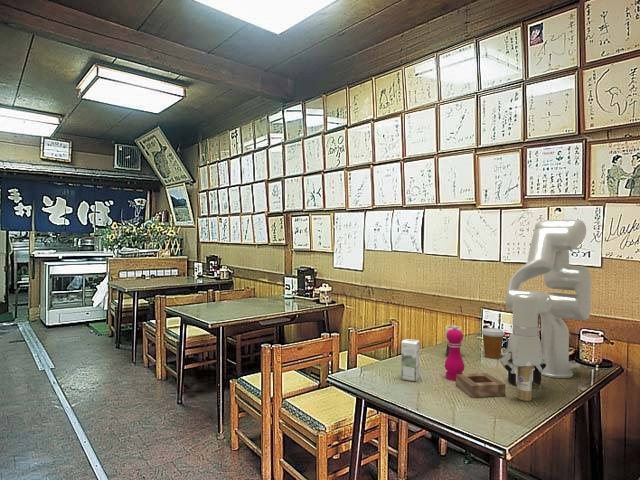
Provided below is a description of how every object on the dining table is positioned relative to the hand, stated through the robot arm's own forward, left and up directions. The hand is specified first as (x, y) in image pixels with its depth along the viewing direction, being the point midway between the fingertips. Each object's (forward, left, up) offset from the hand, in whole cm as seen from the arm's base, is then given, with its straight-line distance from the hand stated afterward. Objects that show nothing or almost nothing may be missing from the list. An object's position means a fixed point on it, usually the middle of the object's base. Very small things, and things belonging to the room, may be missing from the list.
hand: (524, 383), depth 145 cm
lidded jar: (-8, -15, -5) cm, 18 cm away
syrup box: (+31, -24, -5) cm, 40 cm away
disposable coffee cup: (-15, -48, -5) cm, 51 cm away
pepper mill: (+14, -23, -5) cm, 27 cm away
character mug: (+2, -51, -5) cm, 51 cm away
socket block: (+11, -9, -5) cm, 15 cm away
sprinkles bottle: (0, 0, -5) cm, 5 cm away
